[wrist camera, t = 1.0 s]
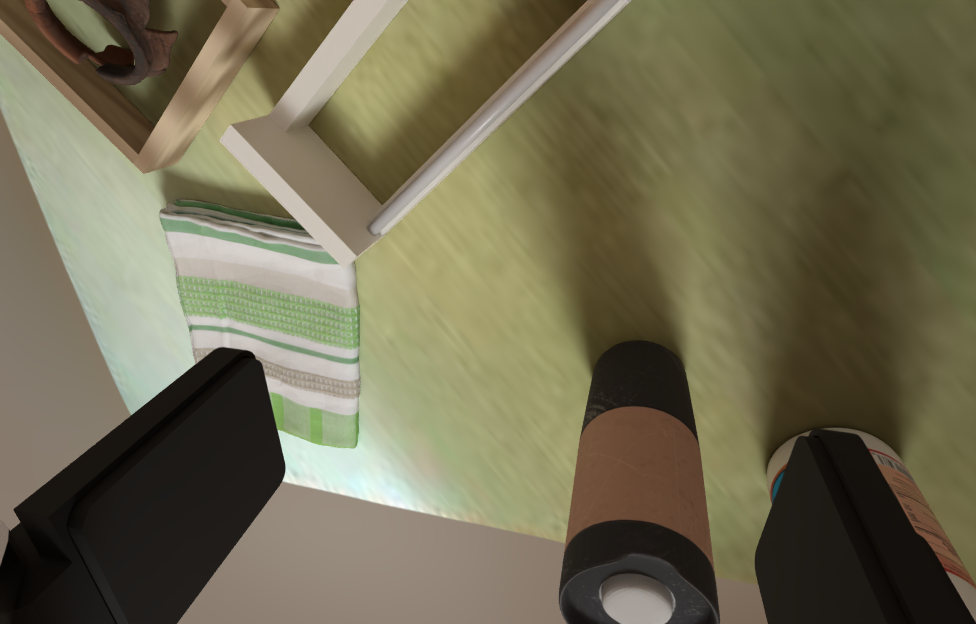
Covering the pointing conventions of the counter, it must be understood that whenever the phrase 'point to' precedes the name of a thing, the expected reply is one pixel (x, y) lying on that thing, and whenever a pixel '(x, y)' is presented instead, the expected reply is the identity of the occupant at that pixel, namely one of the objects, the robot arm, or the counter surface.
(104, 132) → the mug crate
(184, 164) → the counter surface
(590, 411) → the travel mug
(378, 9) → the frame
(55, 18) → the pottery mug
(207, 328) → the dish towel
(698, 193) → the counter surface
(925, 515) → the fruit juice
